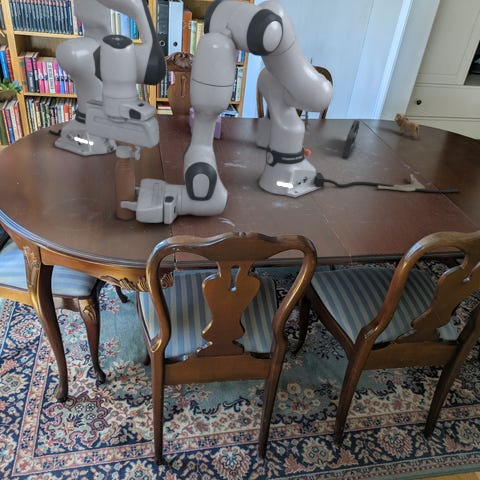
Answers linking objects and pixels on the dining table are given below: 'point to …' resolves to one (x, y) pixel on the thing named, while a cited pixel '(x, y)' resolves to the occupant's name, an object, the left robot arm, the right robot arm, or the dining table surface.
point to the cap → (124, 151)
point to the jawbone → (405, 187)
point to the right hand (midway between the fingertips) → (122, 198)
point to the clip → (217, 126)
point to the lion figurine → (406, 124)
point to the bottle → (124, 187)
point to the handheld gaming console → (351, 139)
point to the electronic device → (264, 131)
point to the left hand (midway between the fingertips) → (123, 155)
